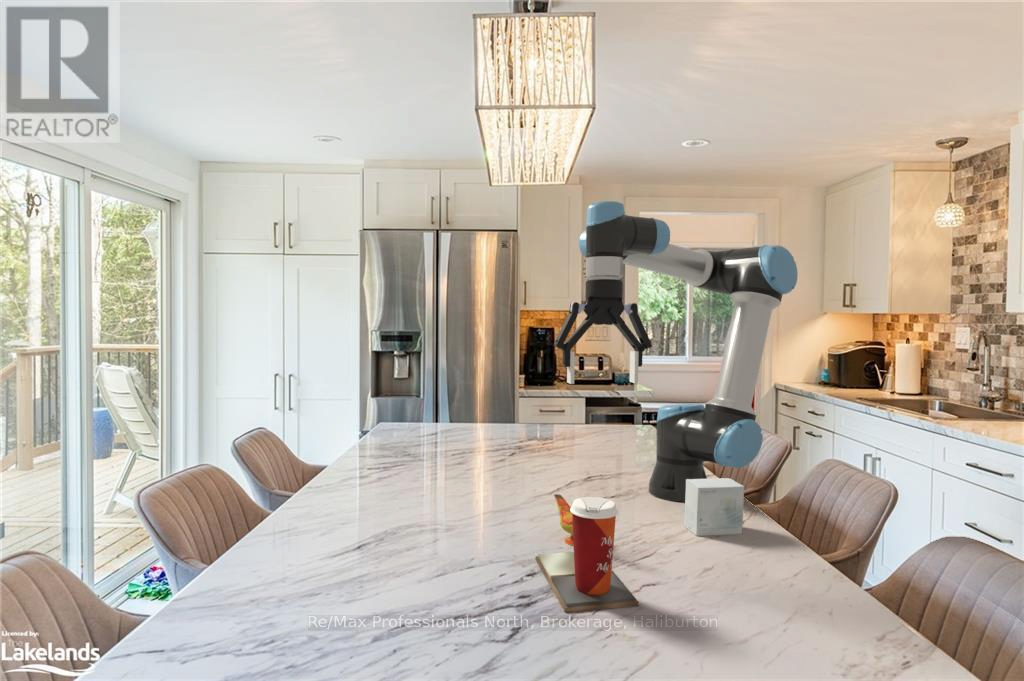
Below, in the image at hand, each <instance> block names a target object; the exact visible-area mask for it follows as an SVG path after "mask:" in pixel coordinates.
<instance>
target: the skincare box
mask: <svg viewBox="0 0 1024 681" xmlns="http://www.w3.org/2000/svg"><path fill="white" fill-rule="evenodd" d="M744 496H745V486H744V485H743V484H741V483H739V482H737V481H735V480H733V479H732V478H729V477H722V478H720V477H719V478H707V479H686V495H685V502H684V522H683V526H684V527H685V528H687V529H688V530H689V531H690V532H691V533H692V534H694V535H695V536H696V537H700V536H701V537H702V536H703V537H704V536H726V535H730V536H731V535H742V534H743V524H744V523H743V522H744V520H743V518H744Z"/></svg>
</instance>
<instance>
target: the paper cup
mask: <svg viewBox="0 0 1024 681" xmlns="http://www.w3.org/2000/svg"><path fill="white" fill-rule="evenodd" d="M570 507H571V508H570V511H571V513H572V521H573V545H574V546H573V552H574V567H575V584H576V589H577V590H578V591H579V592H581V593H584V594H587V595H603V594H606V593H608V592H609V590H610V583H611V572H612V571H613V557H614V544H615V543H614V542H615V532H616V516H617V515H618V514H619V511H618V509H617V507H616V503H615V502H614V501H613V500H611V499H609V498H605V497H598V496H584V497H578V498H576V499H574V500H573V502H572V504H571V506H570Z"/></svg>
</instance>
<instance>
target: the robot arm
mask: <svg viewBox="0 0 1024 681" xmlns="http://www.w3.org/2000/svg"><path fill="white" fill-rule="evenodd" d="M625 213H626V212H625V207H624V204H623V203H621V202H619V201H614V200H611V201H610V200H607V201H606V200H605V201H604V200H603V201H601V200H600V201H596V202H593V203H590V205H588V206H587V209H586V222H585V230H583V231H582V232H581V234H580V235H579V236H580V237H579V238H578V248H579V251H580V253H581V254H582V256H583V257H585V277H586V278H587V279H588V280H586V281H585V290H584V291H585V292H584V293H585V298H584V299H585V300H584V303H578V301H577V302H570V304H569V311H568V314H567V317H566V318H565V320H564V322H563V324H562V326H561V328H560V330H559V332H558V335H557V336H556V338H555V340H554V343H553V346H554V347H555V348H558V349H560V350H561V351H562V366H563V367H565V368H566V383H568V384H570V385H574V384H575V362H576V361H575V359H576V358H575V352H576V351H574V350H572V349H573V348H574V346H575V345H576V344H577V343H578V342H579V340H580V339H581V338H582V337H583V336H584V335H585V333H586V332H587V331H588V330H589V329H590V328H591V327H592V326H593V325H597V326H598V325H599V326H602V325H606V326H613V325H614V327H616V328H617V330H618V331H619V333H621V335H622V336H623V337H624V338H625V339H626V341H627V342H628V343H629V345H630V346H631V347H632V349H633V350H629V383H633V384H639V367H642V366H643V352H645V350H647V349H651V348H652V345H653V344H652V342H651V339H650V338H649V335H648V333H647V331H646V329H645V326H644V324H643V321H642V320H641V317H640V315H639V310H638V304H637V303H635V302H633V303H628V304H624V302H623V296H624V295H623V293H624V291H623V288H624V286H623V284H624V282H623V281H622V280H621V278H623V277H624V265H627V266H631V267H635V268H639V269H643V270H647V271H650V272H653V273H654V272H655V273H659V274H662V275H666V276H669V277H673V278H678V279H681V280H684V281H685V282H686V283H687V284H688V285H690V286H692V287H696V288H700V289H703V290H707V291H711V292H715V293H719V294H722V295H730V299H731V300H732V301H733V303H734V307H733V312H732V315H731V320H730V324H729V329H728V334H727V337H726V343H725V347H724V351H723V356H722V361H721V363H720V369H719V374H718V378H717V383H716V386H715V391H714V395H713V398H711V399H710V400H707V402H705V405H704V404H701V403H685V404H684V403H683V404H669V405H662V406H660V407H659V408H658V410H657V417H656V459H655V460H656V461H655V465H654V467H653V470H652V474H651V476H650V479H649V481H648V482H649V483H648V492H649V493H650V495H653V496H654V497H657V498H660V499H663V500H668V501H674V502H683V503H685V495H686V479H708V477H707V474H706V473H707V472H706V471H705V466H704V462H705V461H706V462H708V463H709V462H710V463H712V464H716V465H719V466H722V467H727V468H728V467H729V468H733V469H741V468H744V467H746V466H749V464H750V463H752V462H753V461H754V460H755V459H756V458H757V457H758V456H759V453H760V451H761V448H762V446H763V439H764V437H763V436H764V435H763V433H762V431H763V430H762V428H761V425H760V424H759V423H758V422H757V421H756V419H757V414H756V412H755V410H754V408H753V407H752V404H753V400H754V397H755V396H754V395H755V390H756V386H757V381H758V376H759V374H760V373H759V372H760V367H761V363H762V358H763V355H764V350H765V344H766V341H767V340H766V339H767V335H768V331H769V326H770V322H771V316H772V312H773V310H774V309H777V307H780V305H782V304H781V303H782V298H783V295H786V294H789V293H791V292H792V291H793V290H794V289H795V288H796V285H797V283H798V276H799V275H798V267H797V262H796V261H795V259H794V258H795V257H794V256H793V255H792V253H791V252H790V250H788V249H787V248H786V247H784V246H782V245H776V244H775V245H767V244H765V245H761V246H754V247H746V248H744V247H743V248H738V249H737V248H736V249H727V250H726V249H725V250H718V251H717V250H716V251H715V250H714V251H713V250H706V249H704V248H703V249H702V248H700V249H699V248H698V249H696V250H693V249H688V248H685V247H682V246H679V245H675V244H673V243H670V242H671V230H670V227H669V224H668V223H667V222H665V221H664V220H662V219H658V218H655V217H644V216H643V217H641V216H634V215H628V214H625ZM582 310H583V311H584V313H585V315H586V317H585V318H584V319H583V320H582V321H581V323H580V325H579V326H578V327H577V328H576V329H575V331H573V333H572V334H571V335H570V336H569V334H570V332H571V330H572V328H573V325H574V323H575V322H576V320H577V317H578V315H579V314H581V312H582ZM623 312H625V313H626V315H628V318H629V320H630V323H631V325H632V327H633V329H634V331H635V334H636V335H635V334H634V332H632V330H631V329H630V327H629V326H628V325H627V324H626V322H625V320H624V319H623V318H622V317H621V316H622V313H623ZM568 336H569V338H568ZM636 336H637V337H636ZM567 338H568V339H567Z"/></svg>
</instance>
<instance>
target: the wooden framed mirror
mask: <svg viewBox="0 0 1024 681" xmlns="http://www.w3.org/2000/svg"><path fill="white" fill-rule="evenodd" d="M535 561H536V563H537V564H538V566H539V568H540V570H541V573H543V575H544V577H545V579H546V581H547V583H548V585H549V587H550V588H551V590H552V592H553V593H554V596H555V597H556V599H557V600H558V603H559V605H560V606H561V608H562V610H563V611H564V613H570V612H580V611H581V612H582V611H591V610H592V611H593V610H595V611H596V610H603V609H605V610H606V609H616V608H617V609H618V608H619V609H620V608H628V607H629V608H630V607H638V606H639V603H640V602H639V600H637V598H636V597H635V595H633V593H632V592H631V591H630V589H628V587H627V586H626V585H625V584H624V582H623V581H622V580H621V579H620V577H618V575H617V574H616V573H615V572H614V571H613V570H612V572H611V583H610V590H609V592H608V593H606V594H603V595H587V594H584V593H581V592H579V591H578V590H577V589H576V584H575V567H574V551H572V552H571V551H570V552H569V551H568V552H555V553H553V552H552V553H541V554H537V555H536V556H535Z"/></svg>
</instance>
